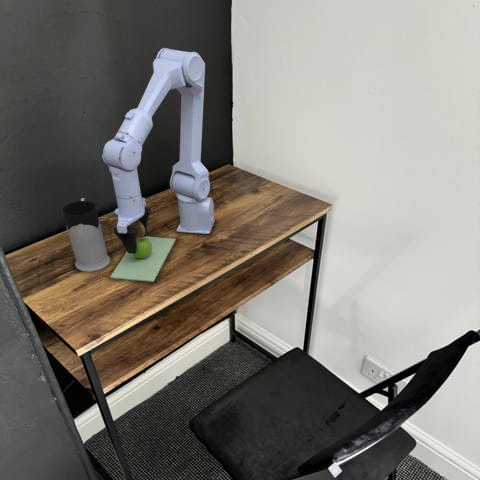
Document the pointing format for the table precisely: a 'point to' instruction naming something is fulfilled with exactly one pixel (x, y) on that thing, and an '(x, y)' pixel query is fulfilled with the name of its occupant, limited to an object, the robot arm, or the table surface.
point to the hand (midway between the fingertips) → (137, 244)
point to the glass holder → (86, 235)
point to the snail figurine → (141, 241)
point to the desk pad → (144, 262)
